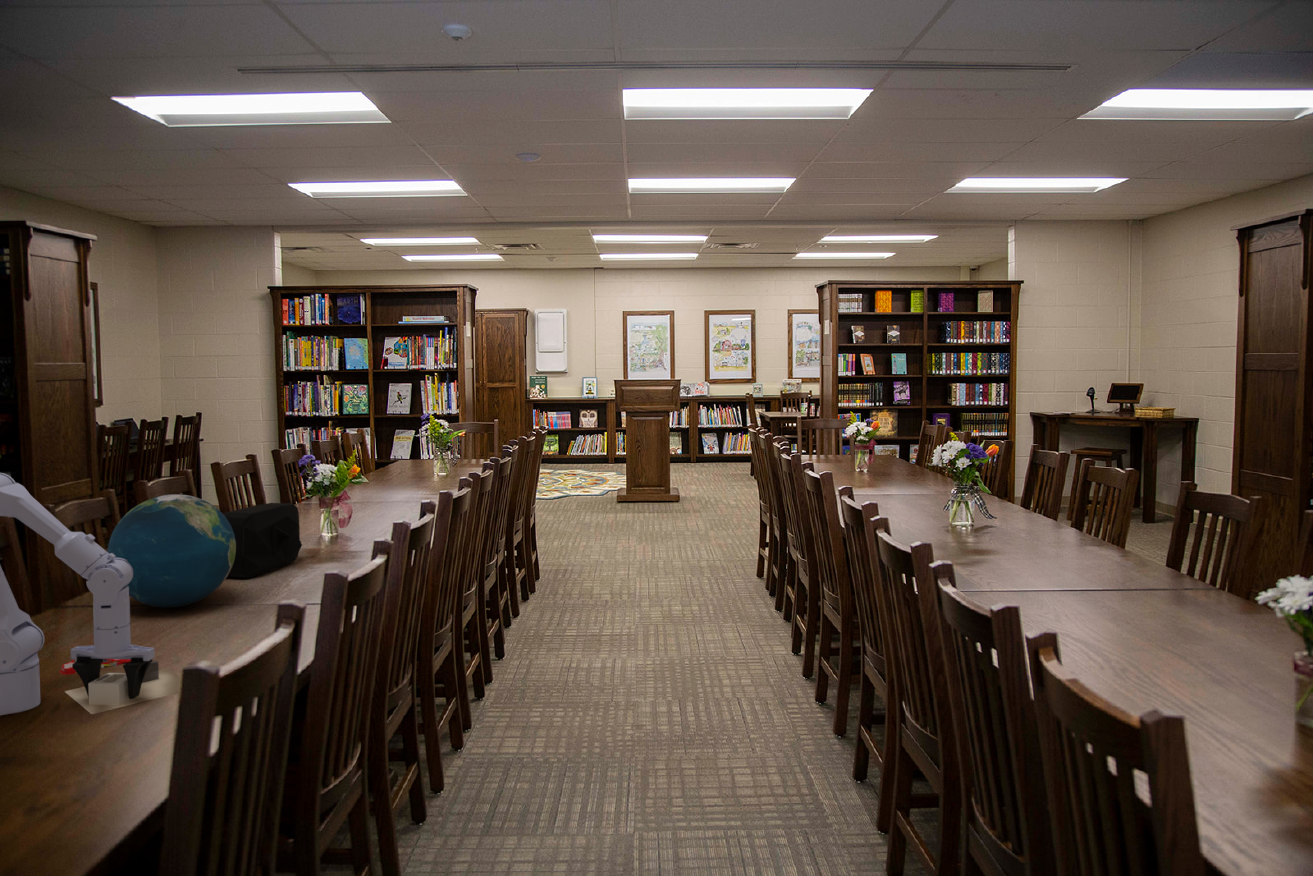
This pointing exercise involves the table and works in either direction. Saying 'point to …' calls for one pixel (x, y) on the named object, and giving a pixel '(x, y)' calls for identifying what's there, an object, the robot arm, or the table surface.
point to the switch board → (151, 688)
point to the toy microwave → (109, 689)
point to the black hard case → (264, 538)
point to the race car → (68, 668)
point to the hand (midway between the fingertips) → (114, 696)
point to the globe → (174, 549)
